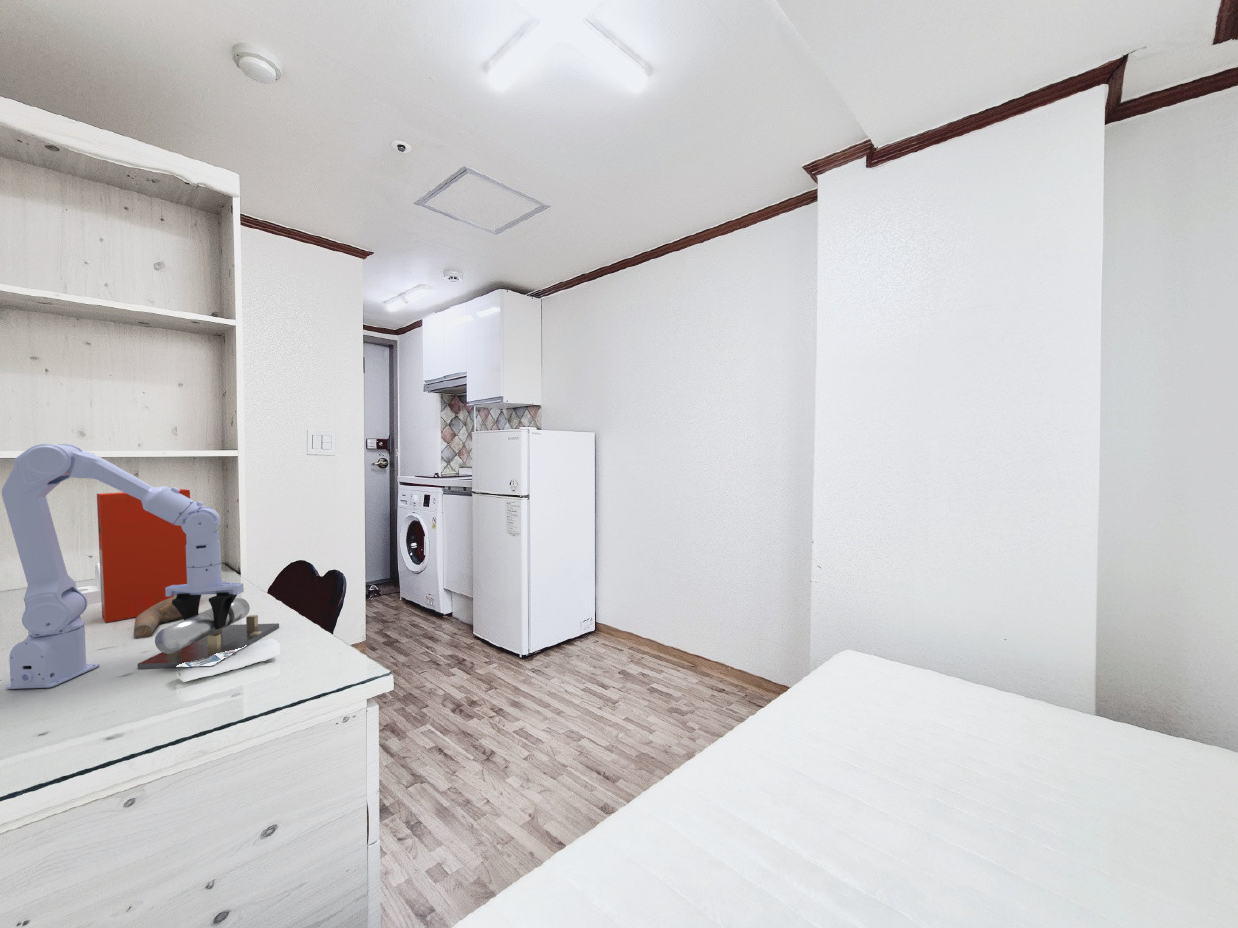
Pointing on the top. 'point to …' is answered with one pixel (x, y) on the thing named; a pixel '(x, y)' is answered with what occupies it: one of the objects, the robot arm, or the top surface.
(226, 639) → the grey plate with pegs
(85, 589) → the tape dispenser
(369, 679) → the top surface
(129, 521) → the file binder
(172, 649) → the silver long rounded block
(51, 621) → the robot arm
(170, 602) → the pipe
